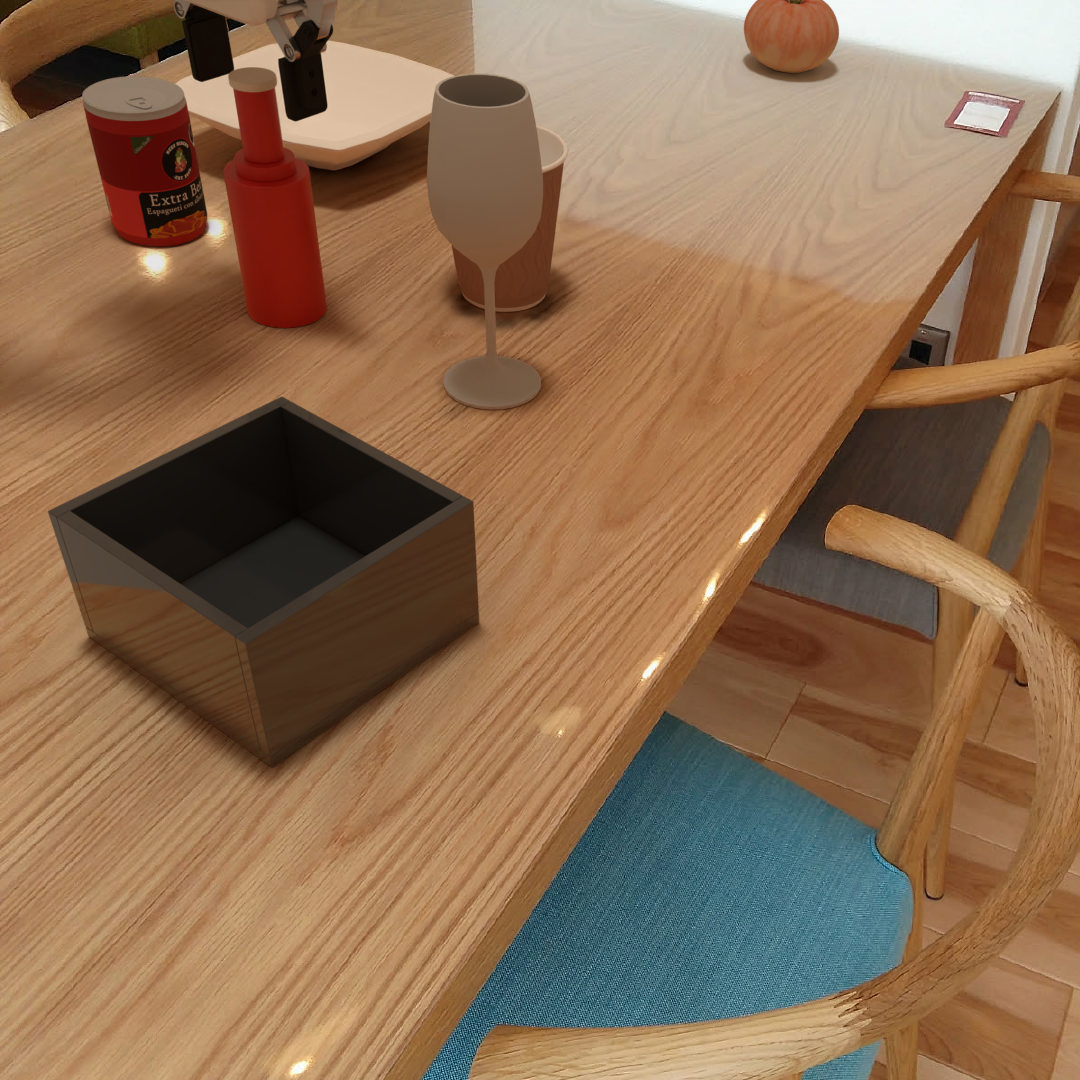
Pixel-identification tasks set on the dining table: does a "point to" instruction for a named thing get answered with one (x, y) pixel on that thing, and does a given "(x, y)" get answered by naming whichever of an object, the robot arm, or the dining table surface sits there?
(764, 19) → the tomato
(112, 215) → the canned food
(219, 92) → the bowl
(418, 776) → the dining table surface
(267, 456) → the dark square storage bin
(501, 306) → the coffee cup
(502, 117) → the wineglass
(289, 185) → the bottle
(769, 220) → the dining table surface
